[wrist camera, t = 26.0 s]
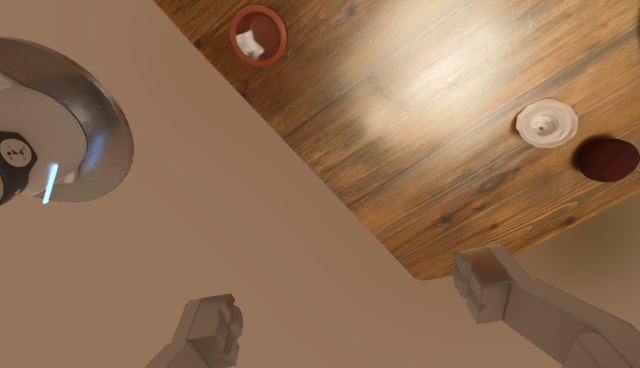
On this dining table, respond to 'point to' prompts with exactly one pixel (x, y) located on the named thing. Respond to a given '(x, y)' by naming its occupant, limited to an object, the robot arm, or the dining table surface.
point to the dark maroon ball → (608, 160)
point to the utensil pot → (258, 35)
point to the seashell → (547, 123)
